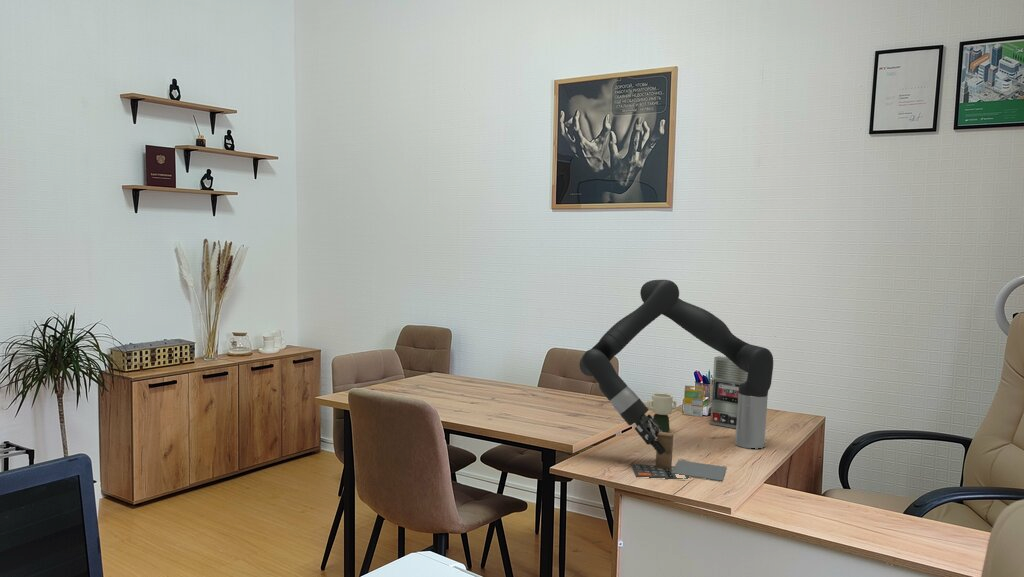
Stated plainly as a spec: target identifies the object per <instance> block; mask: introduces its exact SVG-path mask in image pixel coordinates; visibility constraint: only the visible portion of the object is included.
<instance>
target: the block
mask: <svg viewBox="0 0 1024 577" xmlns="http://www.w3.org/2000/svg"><path fill="white" fill-rule="evenodd" d="M657 440H658V441H659V442H660V443H661V444H662V446H663V447H664V448H665V449H666V451H665V452H664V453H663V454H661V455H660V454H659V453H658V452H657V451H656V450H655V451H656V452H655V453H656V454H655V465H656V467H659V468H662V469H670V468H671V466H673V465H672V462H673V449H674V448H673V446H674V433H672V432H659V433H658V434H657ZM656 467H655V468H656Z"/></svg>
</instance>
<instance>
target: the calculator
mask: <svg viewBox="0 0 1024 577" xmlns="http://www.w3.org/2000/svg"><path fill="white" fill-rule="evenodd" d="M655 467H656V464H655V465H654V464H641V463H640V464H639V463H638V464H637V463H631V468H632V470H633V473H634V475H635V477H636V478H637V477H649V478H648V479H651V478H665V479H664V480H668V479H683V478H677V477H676V475H675V474H674V473H671V472H672V471H673V469H674V467H675V465H674V466H673V465H672V466H671V468H670V469H662V468H659V467H656V468H655ZM685 477H686V478H684V479H688V478H690V479H691V477H689V476H687V475H685Z"/></svg>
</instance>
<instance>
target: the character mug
mask: <svg viewBox="0 0 1024 577" xmlns="http://www.w3.org/2000/svg"><path fill="white" fill-rule="evenodd" d="M673 398H674V396H673V395H672V394H668V393H663V392H655V393H652V394H651V399H648V400H647V405H646V407H647V408H648V410H651V412H652V413H653V414H654V415H653V416H652V418H653V419H654V420H655V421H656V422H657V423H658V425H659V426H660V427H661V428H662V432H666V433H669V432H670V431H671V428H670V418H669V415H671V414H672V412H673V411H672V410H676V408H677V400H676V399H673Z"/></svg>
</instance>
